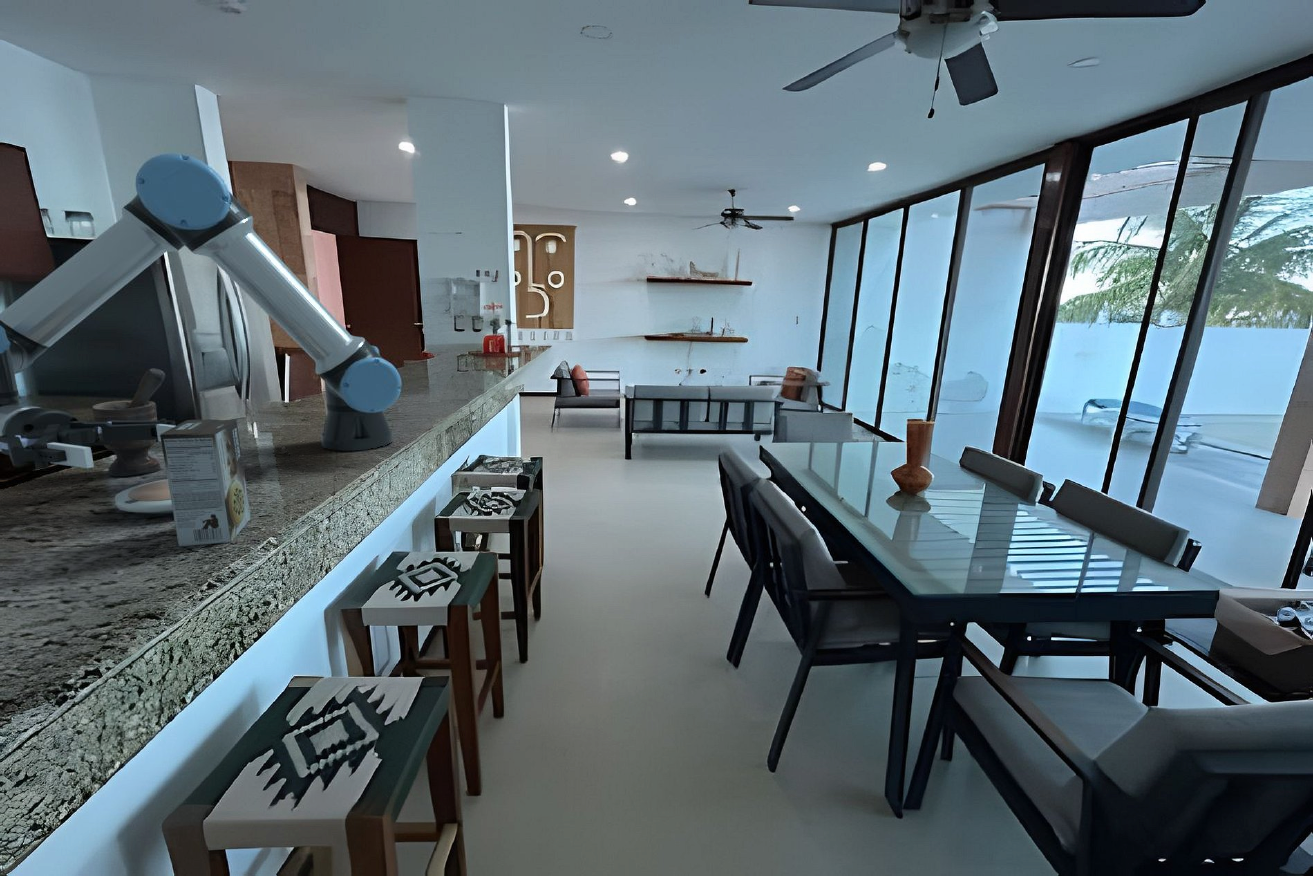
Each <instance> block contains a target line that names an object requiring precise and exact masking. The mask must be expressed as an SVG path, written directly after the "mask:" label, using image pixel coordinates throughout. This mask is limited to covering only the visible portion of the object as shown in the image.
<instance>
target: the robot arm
mask: <svg viewBox="0 0 1313 876" xmlns="http://www.w3.org/2000/svg"><path fill="white" fill-rule="evenodd" d="M135 189H136V195H135V197H133V199H131V200H130V201H129V202H128V203H127V204H126V205H124V206H122V208H121V215H122V217H121V218H120V219H119V220H118V221H116V222H114V224H113V225H111V226H110V227H109V228H107V229H106V230H105V231H103V232H102V233H101V234H99V235H98V236H97V237H96V238H94V239H93V240H92V241H91V242H89V243H88V244H86V246H85V247H83V248H81V250H79V251H78V252H77V253H75V254H74V255H73V256H72V257H70V258H68V260H66V261H65V262H64V263H63V264H62V265H60V266H59V267H57V268H56V269H55V270H54V271H52V272H51V273H50V274H49V275H47V276H46V277H45V278H43V279H42V280H40V282H38V283H37V284H35V286H34V287H32V288H31V289H29V290H27V291H26V292H25V293H24V294H23V295H22V296H20V297H19V298H18V299H16V300H15V301H14V302H12V303H11V304H10V305H9V306H8V307H6V308H5V309H3V310H2V311H1V312H0V452H1V453H2V454H3V455H7V456H9V457H10V458H9V459H10V461H11V463H12V466H13V467H24V466H27V465H28V462H34V465H35V469H37V470H43V469H48V468H50V466H49V463H50V464H55V465H60V466H61V465H62V466H68V467H69V466H70V467H74V468H75V467H76V468H82V469H89V468H90V469H92V468H94V467H95V466H94V460H93V455H92V454H93V453H92V449H91V448H92V446H95V447H96V446H104V445H108V444H110V443H112V442H113V441H135V440H156V441H158V442H160V443H161V438H160V434H162V433H164V432H166V431H168V430H169V429H171V428H173V427H175V426H176V421H175V420H171V419H170V420H169V419H168V420H167V419H166V418H160V419H159V420H157V421H121V420H111V419H107V420H104V422H95V421H94V422H93V421H91V422H89V421H85V420H78V419H77V418H76V417H75V416H74V415H73V414H71V413H70V412H67V411H64V410H61V409H60V410H59V409H54V408H46V407H45V408H44V407H39V406H31V405H21V399H20V394H19V390H18V385H17V379H16V374H19V373H21V372H23V371H25V370H26V369H28V368H29V367H31V365H32V364H34V361H35V360H36V359H37V358H38V357H39V356H41V355H42V354H44V353H45V352H46V351H47V350H48V349H49V348H50V347H52V346H53V345H54V344H55V343H56V342H58V341H59V340H60V339H61V338H62V337H64V336H65V335H66V334H67V333H68V332H70V331H71V330H72V329H73V328H74V327H76V326H77V325H79V323H81V322H82V321H83V320H84V319H86V318H87V317H88V316H89V315H90V314H92V313H93V312H94V311H96V309H98V308H99V307H100V306H102V305H104V303H105V302H107V300H109V299H110V298H111V297H113V296H114V295H116V293H117V292H119V291H120V290H121V289H123V288H124V286H126V285H128V283H130V282H131V281H133V279H135V278H136V277H137V276H138V275H139V274H140V273H142V272H143V271H144V270H145V269H147V268H148V267H150V266H151V265H152V264H153V263H154V262H156V261H157V260H158V259H159V258H161V256H163V255H164V254H165V253H168V252H171V253H172V252H173V253H177V252H179V251H180V250H182V248H183V247H186V248H187V249H188V250H189V251H190V252H191V253H192V254H194V255H198V256H199V255H200V256H204V257H208V258H210V259H211V260H212V261H213V262H214V263H215V264H216V265H217V266H218V267H219V268H221V270H222V271H224V273H226V274H227V276H228V277H230V278H231V279H232V280H233V282H235V283H236V285H238V287H240V288H241V289H242V290H243V291H244V293H245V294H246V295H248V297H249V298H251V299H252V301H254V303H256V305H258V306H259V307H260V308H261V310H262V311H264V312H265V313H266V314H267V315H268V316H269V317H270V318H271V319H272V320H273V321H274V322H275V323H276V324H277V325H278V326H279V327H280V328H281V329H282V330H283V331H284V332H285V333H286V334H287V335H288V336H289V337H290V338H291V339H292V340H293V341H294V342H295V343H296V344H297V345H299V347H300V349H301V348H302V350H303V351H304V352H305V353H306V354H308V356H309V357H310V358H311V359H312V360H313V361H314V362H315V371H314V372H315V374H316V375H317V376H319V378H321V379H322V381H323V382H324V390H325V401H326V417H325V421H324V426H323V431H322V433H321V435H320V439H321V440H320V441H321V447H322V446H323V447H322V448H324V449H326V448H327V450H331V451H343V452H344V451H345V452H346V451H347V452H348V451H352V452H353V451H365V450H372V449H371V448H373V449H377V447H379V448H381V447H380V446H383V447H386V446H388V445H387V444H389V443H391V442H392V441H393V442H394V432H393V429H391V426H390V424H389V421H388V418H387V416H386V414H385V412H384V411H385V410H387V409H388V408H391V406H393V404H395V403H396V402H397V400H398V399H399V396H400V395H401V391H402V379H401V375H400V373H399V372H398V370H397V368H396V367H395V366H394V364H392V363H391V362H389V361H388V360H386V359H384V357H382V356H381V355H380V350H379V347H377V346H375V345H371V344H370V343H369V341H368V340H366V338H364V337H363V336H355V335H351V333H350V332H349V331H348V330H347V329H346V328H345V327H344V326H343V324H342V323H340V322H339V321H338V320H337V318H335V316H334V315H333V314H332V313H331V312H330V311H329V310H328V309H327V308H326V306H324V305H323V304H322V302H321V301H319V299H318V298H317V297H316V296H315V295H314V294H313V292H311V291H310V289H308V288H307V286H305V284H304V283H303V282H302V281H301V280H300V278H298V276H296V275H295V273H294V272H293V271H292V270H291V269H290V268H289V267H288V266H287V265H286V264H285V263H284V262H283V260H281V259H280V257H279V256H278V255H277V254H276V253H275V252H274V251H273V250H272V249H271V248H270V247H269V246H268V245H267V243H266V242H265V241H264V240H263V238H261V237H260V236H259V235H258V233H256V231H255V230H254V228H253V227H254V217H253V216H252V215H251V213H249V211H247V209H246V208H245V207H244V206H243V205H242V204H241V203H240V202H239V201H238V199H237V198H236V197H235V196H234V195H233V194H232V193H231V191H229V188H228V186H227V184H226V183H225V180H224V179H223V178H222V176H221V175H220V174H219V173H218V172H217V171H216V170H215V169H213V167H211V166H209V165H208V164H206V163H205V162H203V161H202V160H199V159H198V158H196V157H195V158H194V157H192V156H190V155H186V154H181V153H173V152H172V153H163V154H158V155H155V156H153V157H151V158H149V159H147V160H146V161H145V162H144V163H143V164H142V165H141V167H140V168H139V170H138V171H137V173H136V177H135ZM99 433H102V435H103V440H100V438H99V435H100V434H99ZM393 442H392V443H393ZM392 443H391V444H392ZM385 445H386V446H385ZM389 445H390V444H389Z"/></svg>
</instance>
